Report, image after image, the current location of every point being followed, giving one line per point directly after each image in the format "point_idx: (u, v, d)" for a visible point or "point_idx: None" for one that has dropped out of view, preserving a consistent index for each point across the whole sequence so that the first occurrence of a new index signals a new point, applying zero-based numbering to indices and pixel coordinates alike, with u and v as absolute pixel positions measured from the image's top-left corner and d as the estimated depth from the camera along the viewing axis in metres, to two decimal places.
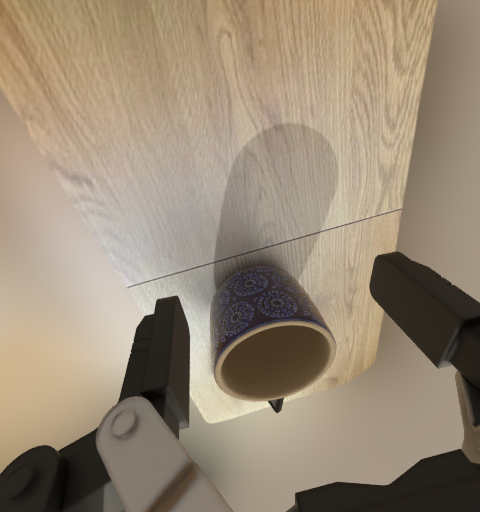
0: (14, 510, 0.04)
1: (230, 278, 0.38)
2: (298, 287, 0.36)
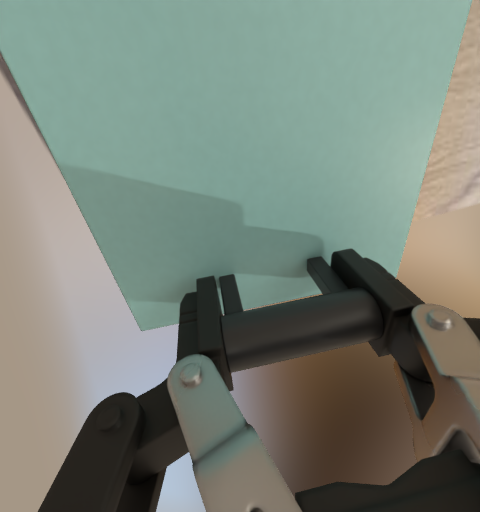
0: (104, 441, 0.05)
1: None
2: None
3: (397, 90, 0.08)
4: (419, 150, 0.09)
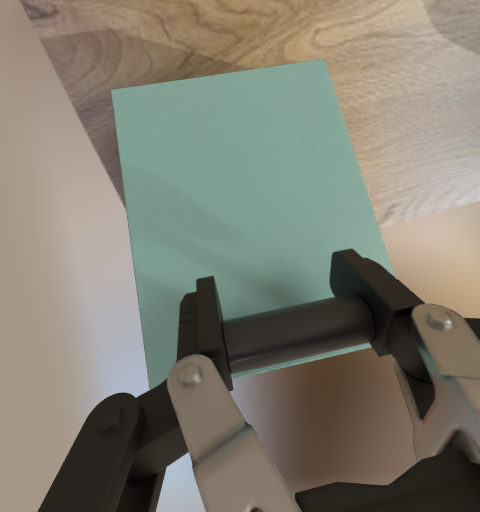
0: (103, 441, 0.05)
1: None
2: None
3: (332, 190, 0.14)
4: (367, 220, 0.13)
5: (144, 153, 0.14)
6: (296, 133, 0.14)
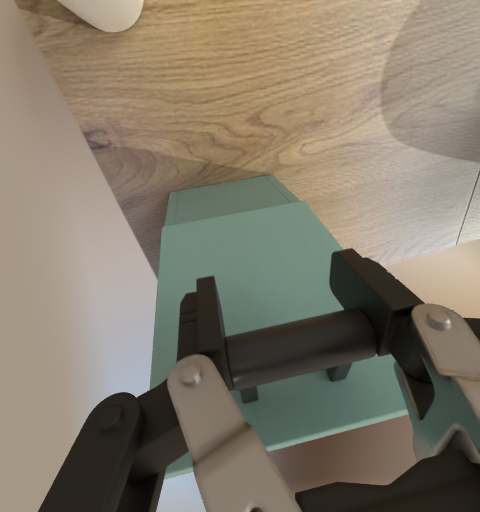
0: (104, 441, 0.05)
1: None
2: None
3: (326, 267, 0.16)
4: None
5: (177, 256, 0.18)
6: (291, 237, 0.19)
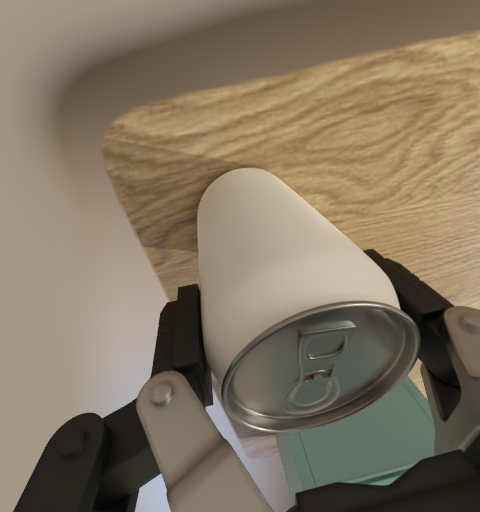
0: (66, 467, 0.05)
1: None
2: None
3: None
4: None
5: None
6: None
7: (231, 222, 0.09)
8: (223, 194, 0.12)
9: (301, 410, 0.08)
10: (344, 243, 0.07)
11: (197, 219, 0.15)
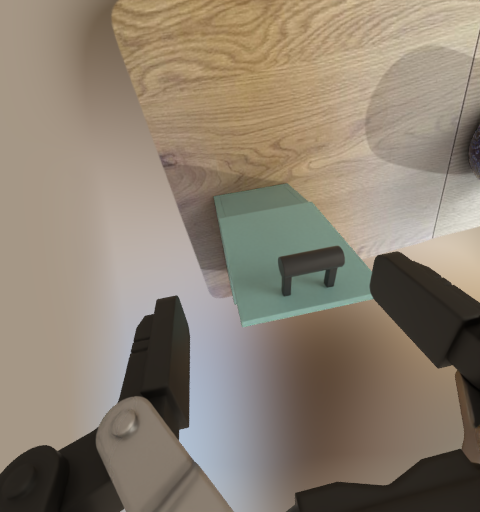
0: (14, 510, 0.04)
1: (474, 166, 0.43)
2: None
3: (325, 239, 0.28)
4: (346, 248, 0.26)
5: (233, 235, 0.30)
6: (303, 223, 0.30)
7: None
8: None
9: None
10: None
11: None
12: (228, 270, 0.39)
